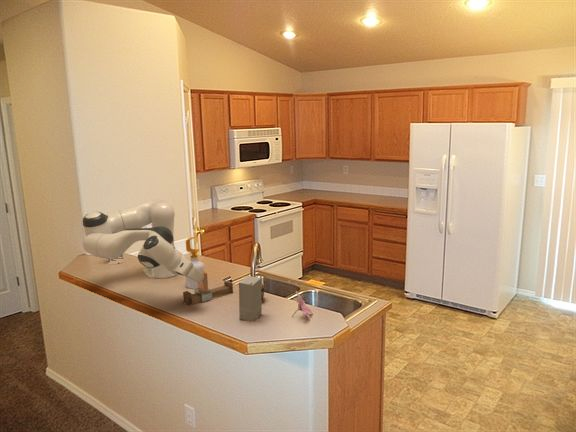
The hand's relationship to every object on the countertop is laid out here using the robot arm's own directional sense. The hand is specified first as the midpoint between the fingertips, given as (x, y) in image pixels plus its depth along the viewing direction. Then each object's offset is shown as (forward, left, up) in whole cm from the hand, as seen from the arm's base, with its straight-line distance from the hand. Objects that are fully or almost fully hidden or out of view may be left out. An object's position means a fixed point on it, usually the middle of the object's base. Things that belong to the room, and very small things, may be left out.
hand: (199, 281), depth 202 cm
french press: (-90, -7, -9) cm, 91 cm away
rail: (-1, +4, -9) cm, 10 cm away
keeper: (-1, +2, -9) cm, 9 cm away
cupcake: (+16, +17, -9) cm, 25 cm away
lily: (+44, +21, -9) cm, 50 cm away
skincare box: (+30, +6, -9) cm, 32 cm away
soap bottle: (-20, +8, -9) cm, 23 cm away
